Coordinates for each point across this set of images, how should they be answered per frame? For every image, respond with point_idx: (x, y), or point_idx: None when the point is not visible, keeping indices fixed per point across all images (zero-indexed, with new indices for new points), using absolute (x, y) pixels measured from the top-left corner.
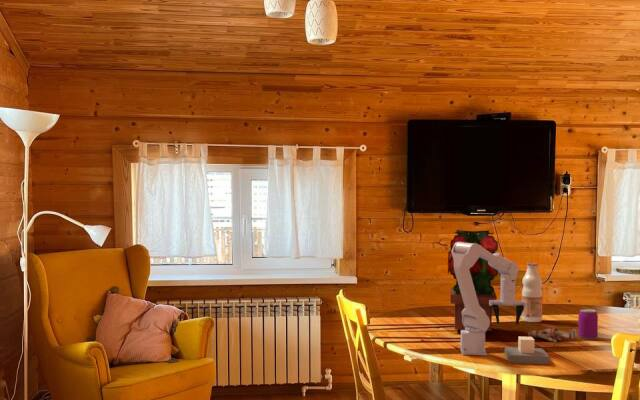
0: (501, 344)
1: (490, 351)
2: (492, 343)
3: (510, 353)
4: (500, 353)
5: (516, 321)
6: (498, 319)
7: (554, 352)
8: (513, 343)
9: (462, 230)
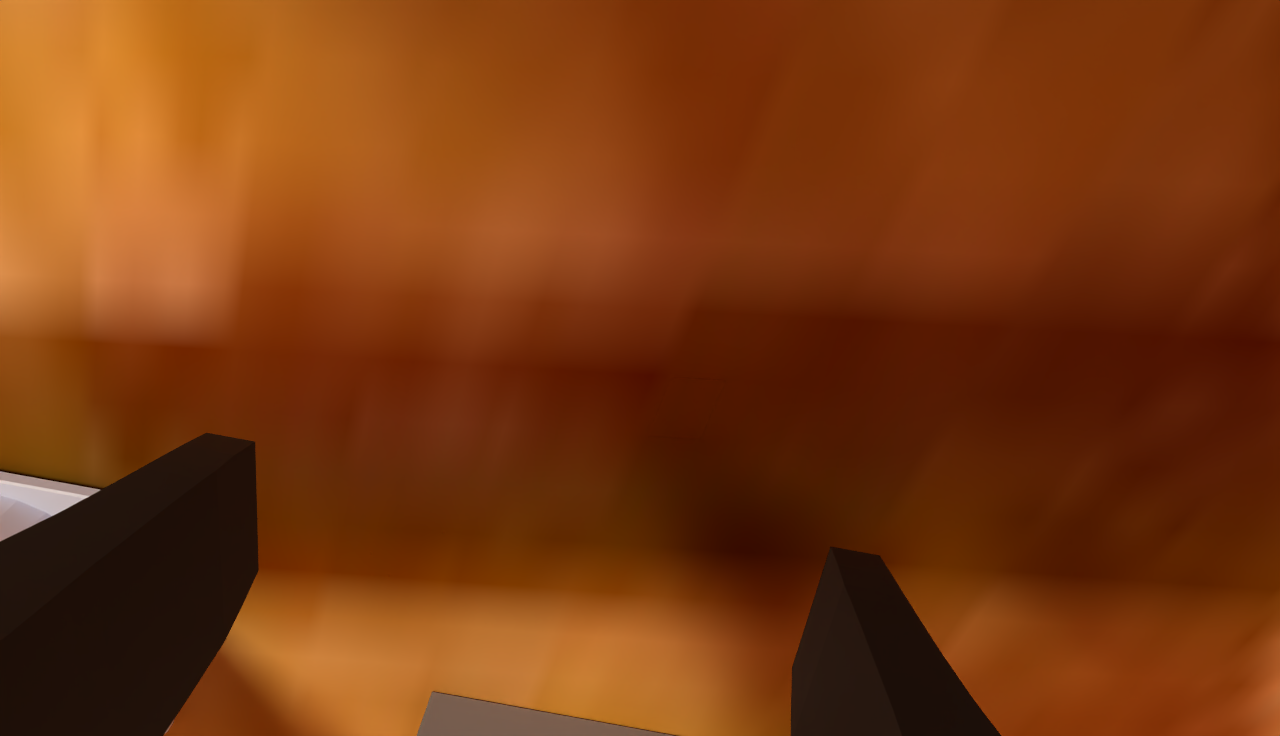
0: (545, 100)
1: None
2: (368, 3)
3: None
4: (384, 637)
5: (808, 688)
6: (170, 691)
7: (1272, 659)
8: (845, 20)
9: None
